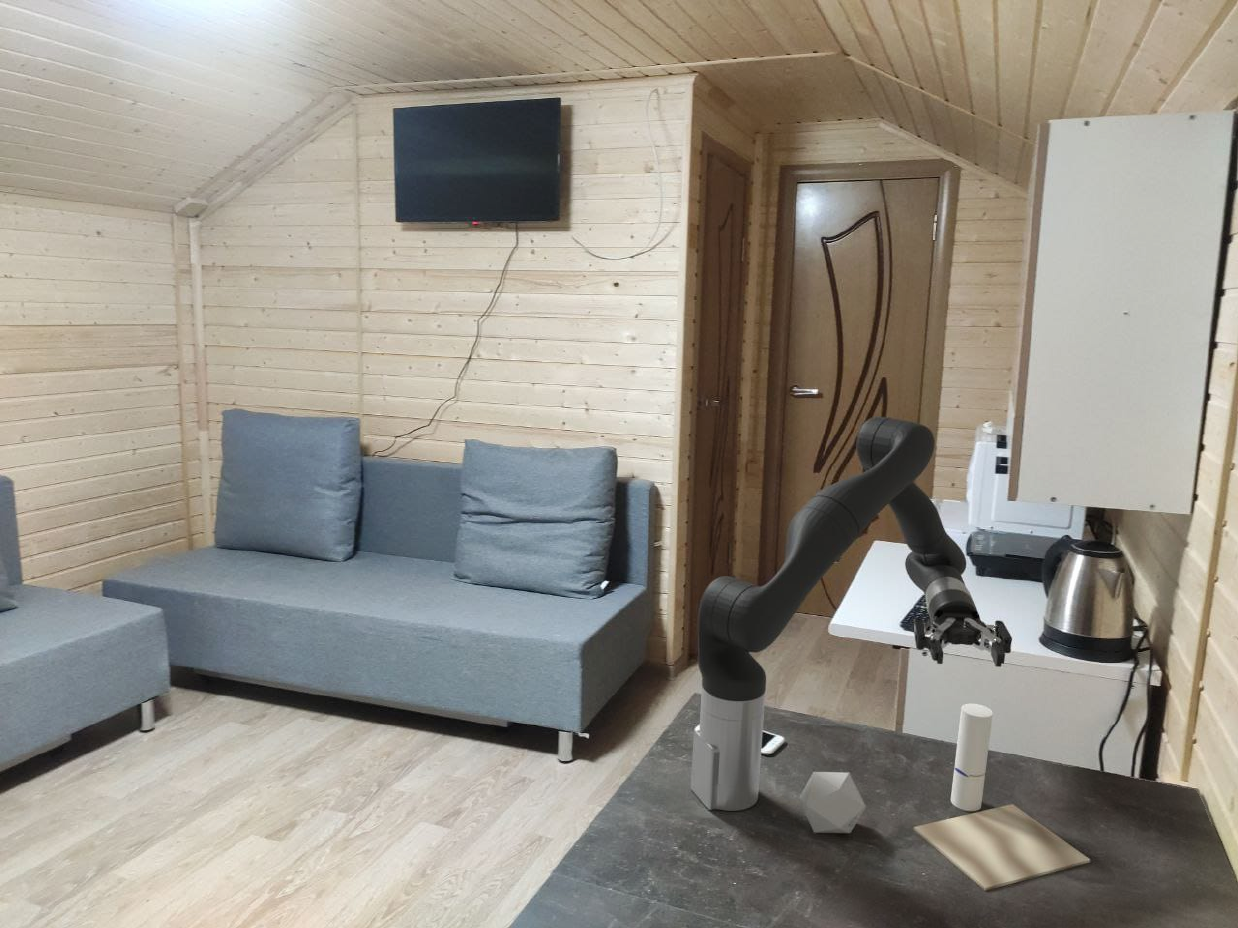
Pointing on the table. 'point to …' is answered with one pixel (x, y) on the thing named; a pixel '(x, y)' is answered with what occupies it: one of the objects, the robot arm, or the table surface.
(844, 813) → the die
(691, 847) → the table surface
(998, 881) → the birch board
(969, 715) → the tube
